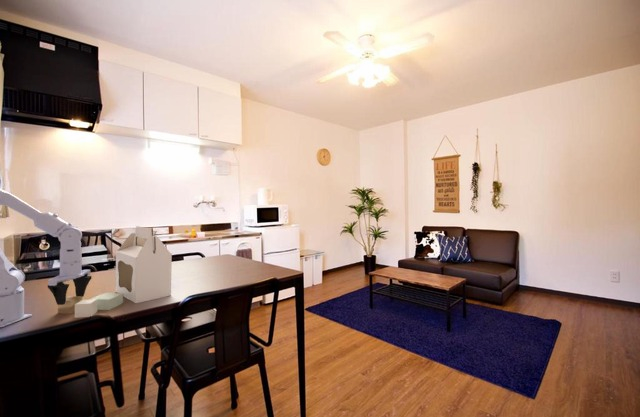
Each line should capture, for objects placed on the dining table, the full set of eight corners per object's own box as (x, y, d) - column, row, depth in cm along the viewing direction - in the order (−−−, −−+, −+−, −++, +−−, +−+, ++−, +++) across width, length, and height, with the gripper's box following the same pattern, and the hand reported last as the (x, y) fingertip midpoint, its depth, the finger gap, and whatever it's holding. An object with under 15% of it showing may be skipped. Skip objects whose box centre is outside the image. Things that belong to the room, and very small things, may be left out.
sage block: (109, 310, 101) (109, 299, 101) (89, 310, 101) (89, 299, 101) (123, 303, 108) (123, 293, 108) (104, 303, 108) (104, 293, 108)
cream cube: (90, 316, 94) (90, 303, 94) (74, 318, 93) (74, 304, 93) (97, 311, 99) (97, 299, 99) (82, 312, 98) (82, 299, 98)
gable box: (171, 295, 118) (172, 228, 117) (135, 304, 107) (136, 229, 107) (149, 285, 131) (149, 225, 131) (115, 292, 121) (116, 226, 120)
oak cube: (71, 313, 97) (71, 300, 97) (57, 313, 97) (57, 300, 97) (82, 308, 101) (82, 296, 101) (69, 308, 101) (69, 296, 101)
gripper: (63, 266, 92) (63, 308, 92) (98, 257, 106) (98, 294, 106) (41, 266, 92) (41, 307, 92) (79, 257, 106) (79, 293, 106)
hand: (70, 300), depth 99 cm, fingers open, 7 cm apart
